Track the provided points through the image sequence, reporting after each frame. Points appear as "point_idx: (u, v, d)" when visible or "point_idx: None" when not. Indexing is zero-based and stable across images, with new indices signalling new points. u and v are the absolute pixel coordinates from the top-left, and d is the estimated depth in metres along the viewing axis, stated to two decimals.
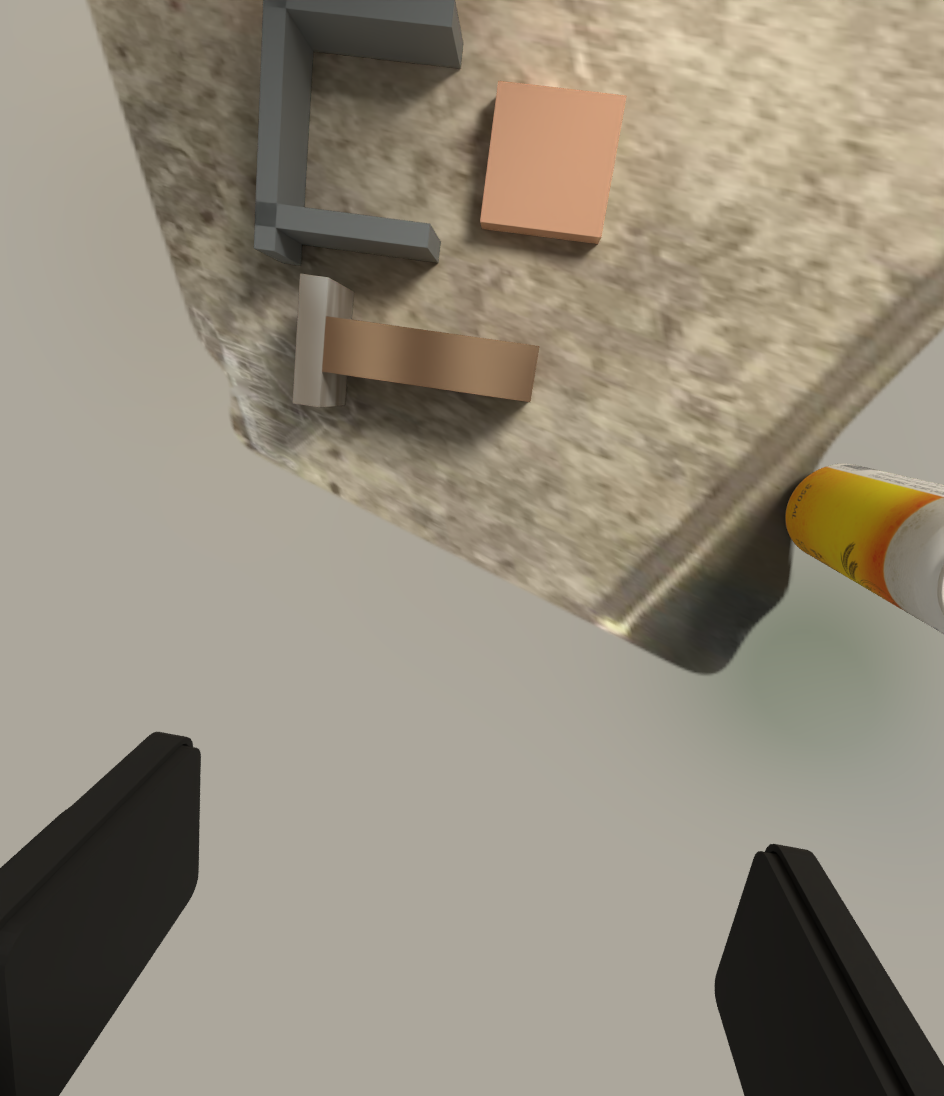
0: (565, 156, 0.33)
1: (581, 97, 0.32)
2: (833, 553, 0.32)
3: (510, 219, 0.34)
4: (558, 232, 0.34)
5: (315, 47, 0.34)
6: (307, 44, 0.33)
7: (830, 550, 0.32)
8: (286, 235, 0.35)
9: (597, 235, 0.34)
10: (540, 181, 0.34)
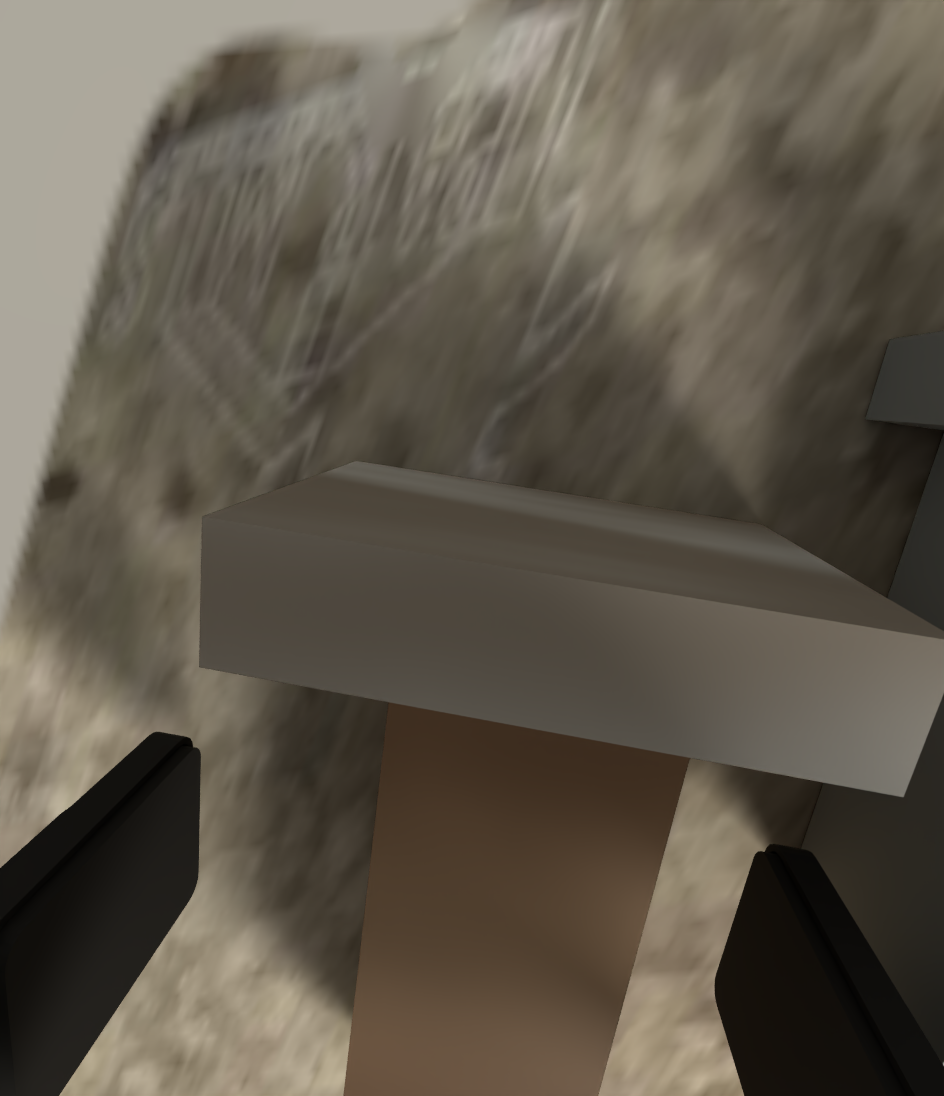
0: None
1: None
2: None
3: None
4: None
5: None
6: None
7: None
8: None
9: None
10: None
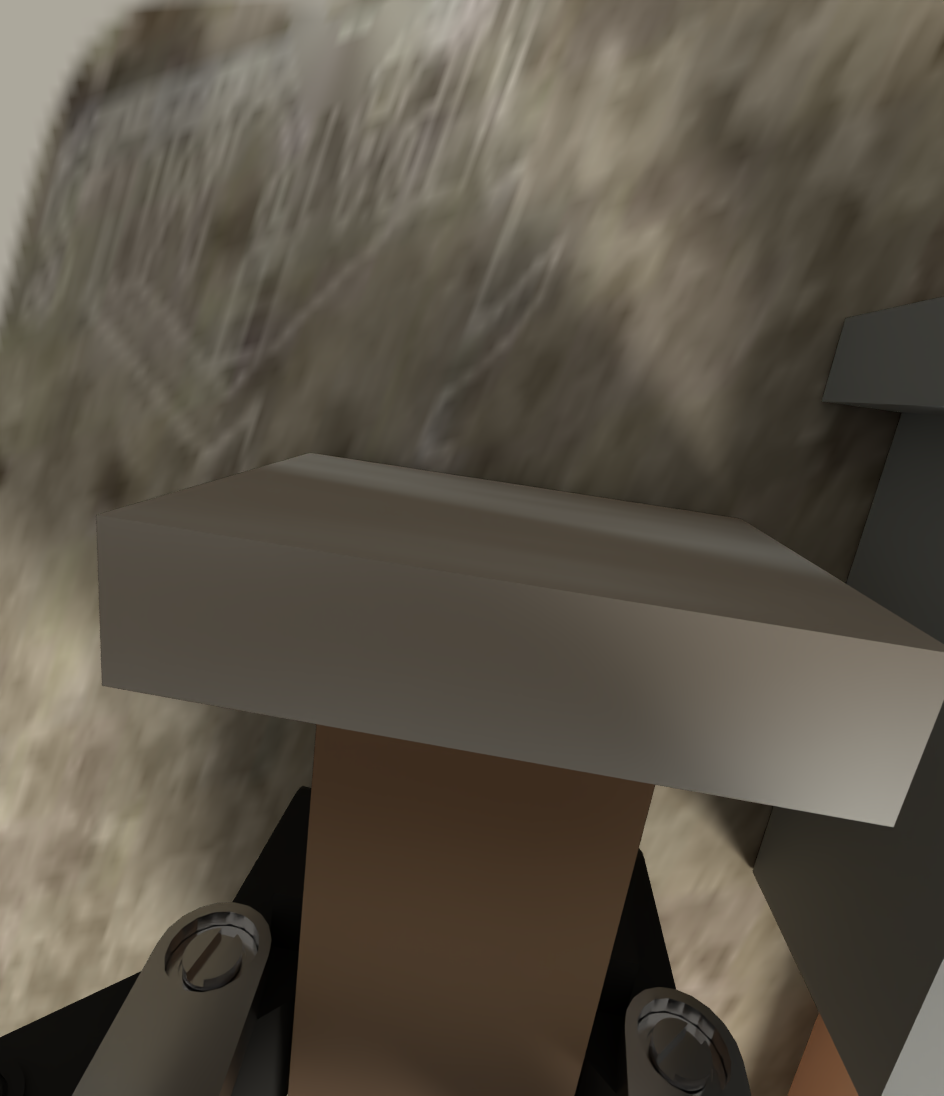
0: None
1: None
2: None
3: None
4: None
5: None
6: None
7: None
8: None
9: None
10: None
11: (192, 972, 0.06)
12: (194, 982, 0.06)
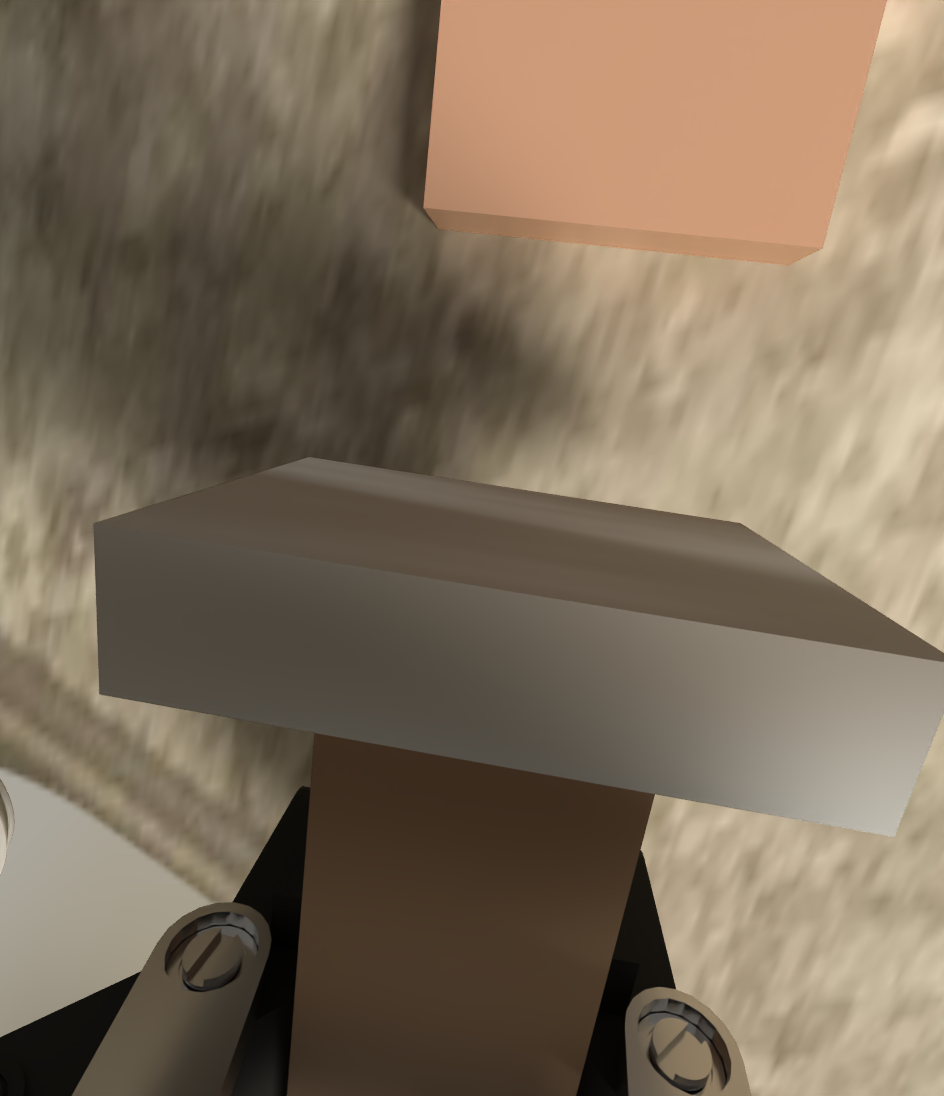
0: (667, 45, 0.10)
1: (845, 85, 0.10)
2: None
3: None
4: (438, 51, 0.10)
5: None
6: None
7: None
8: None
9: (428, 193, 0.11)
10: None
11: (192, 972, 0.06)
12: (194, 982, 0.06)
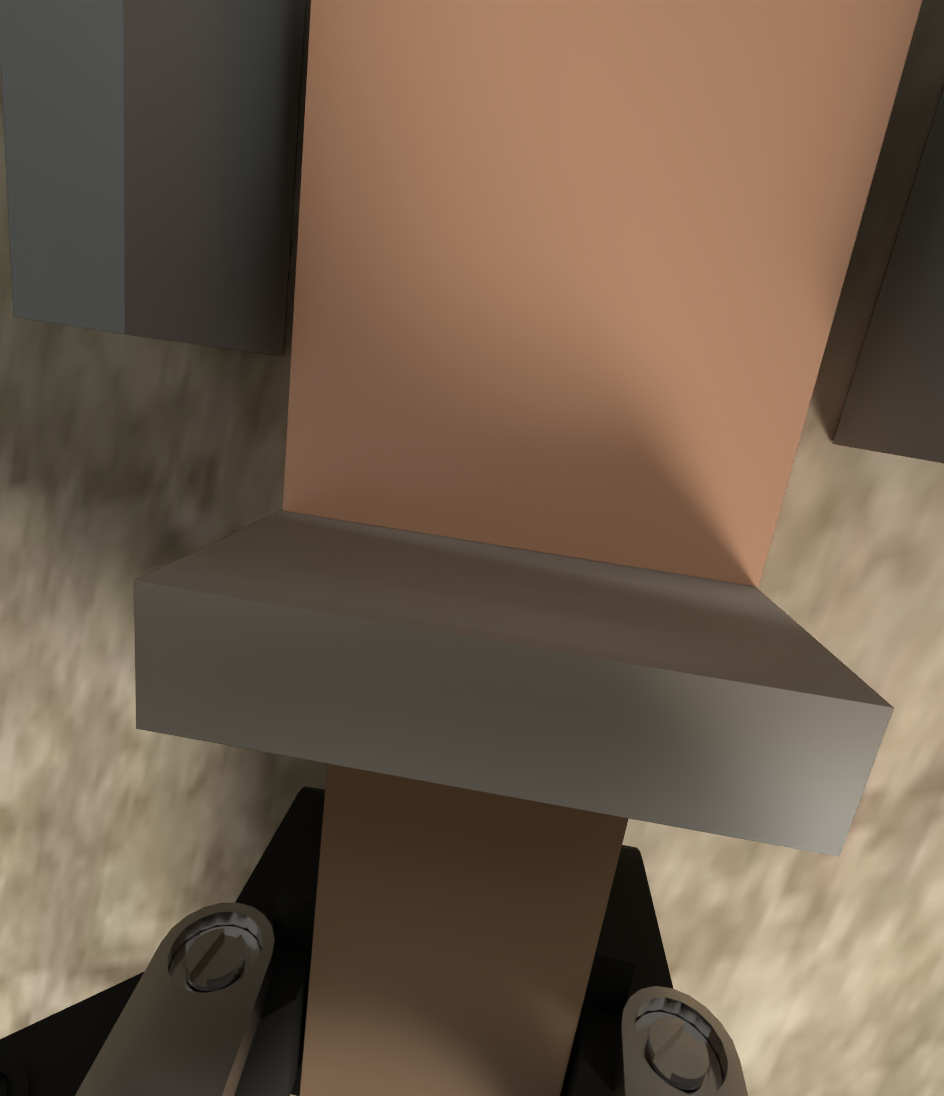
0: (568, 355, 0.08)
1: (783, 415, 0.08)
2: None
3: (329, 107, 0.07)
4: (294, 340, 0.08)
5: None
6: None
7: None
8: None
9: (287, 496, 0.09)
10: (479, 247, 0.08)
11: (195, 973, 0.06)
12: (197, 983, 0.06)
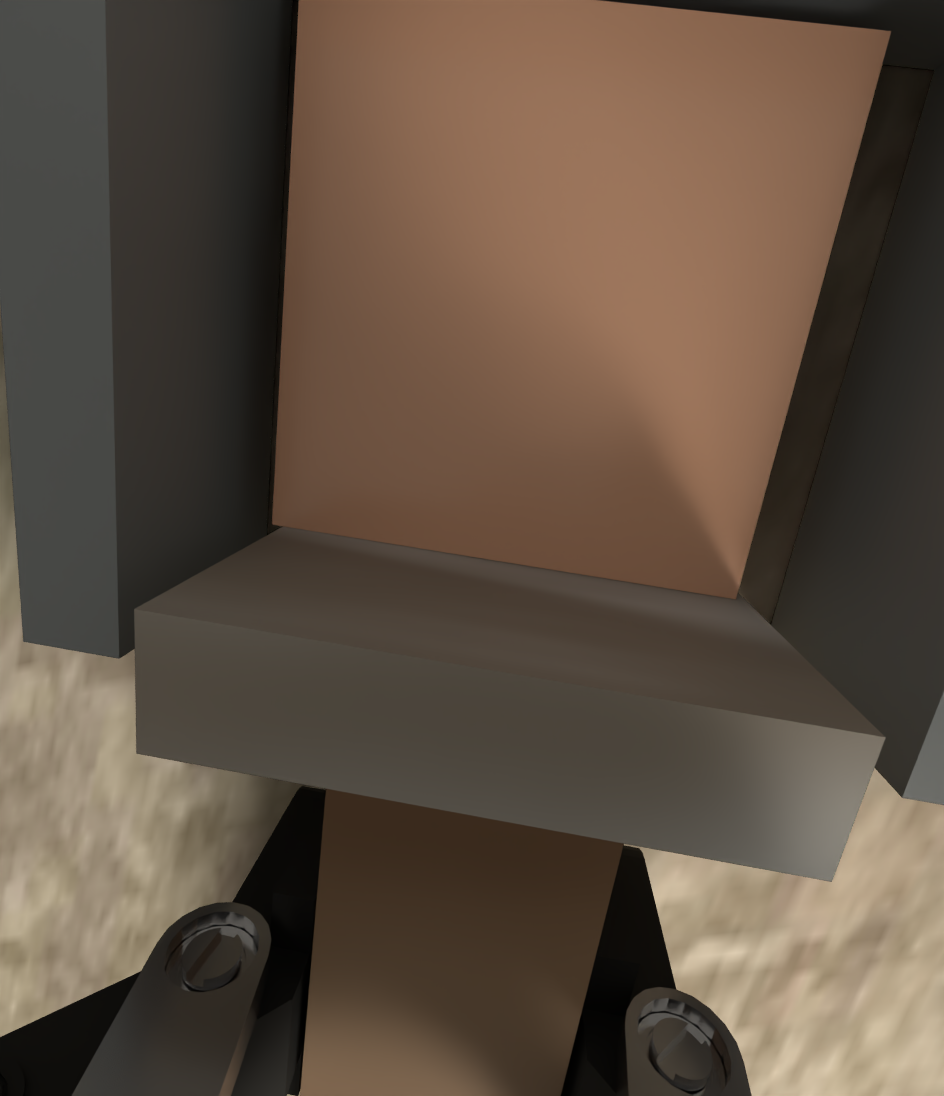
0: (550, 375, 0.08)
1: (758, 433, 0.08)
2: None
3: (316, 133, 0.08)
4: (282, 358, 0.09)
5: None
6: None
7: None
8: None
9: (277, 510, 0.09)
10: (462, 269, 0.08)
11: (191, 972, 0.06)
12: (193, 982, 0.06)
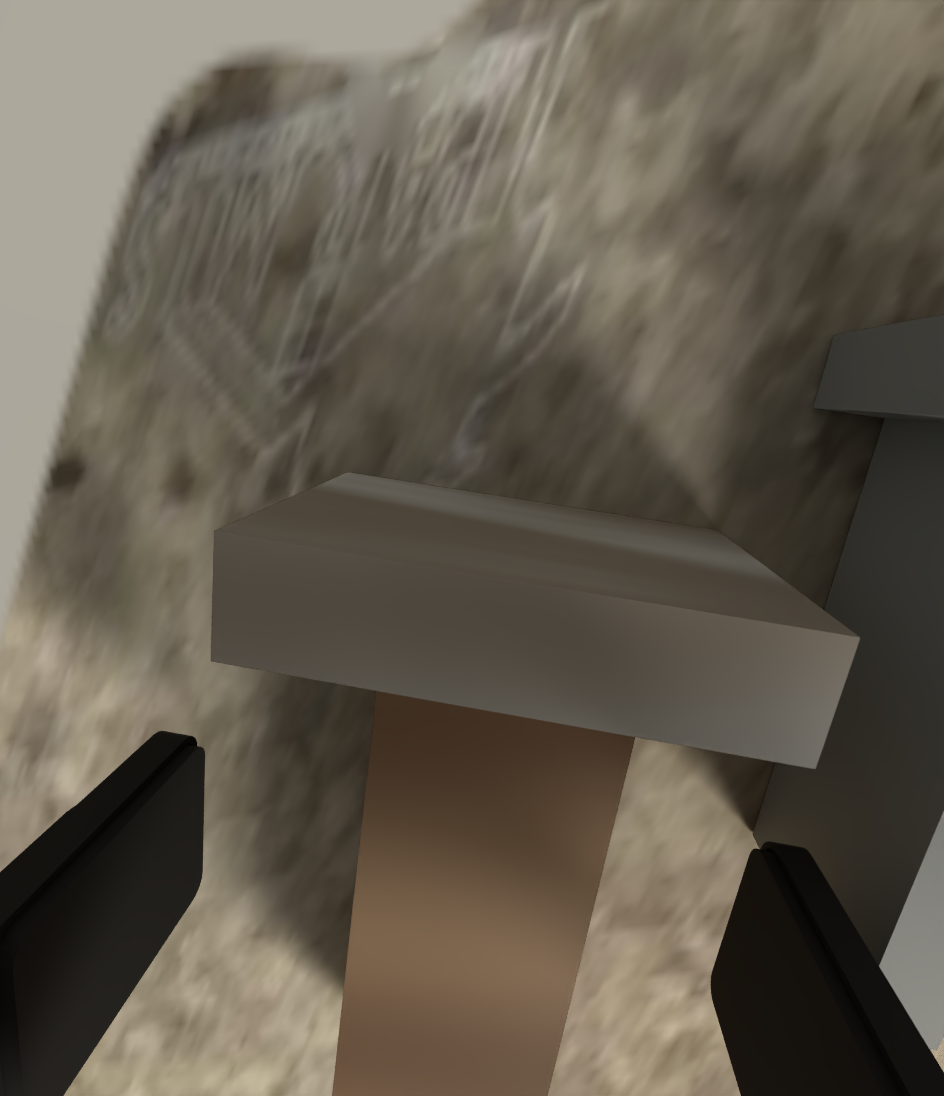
0: None
1: None
2: None
3: None
4: None
5: None
6: None
7: None
8: None
9: None
10: None
11: None
12: None
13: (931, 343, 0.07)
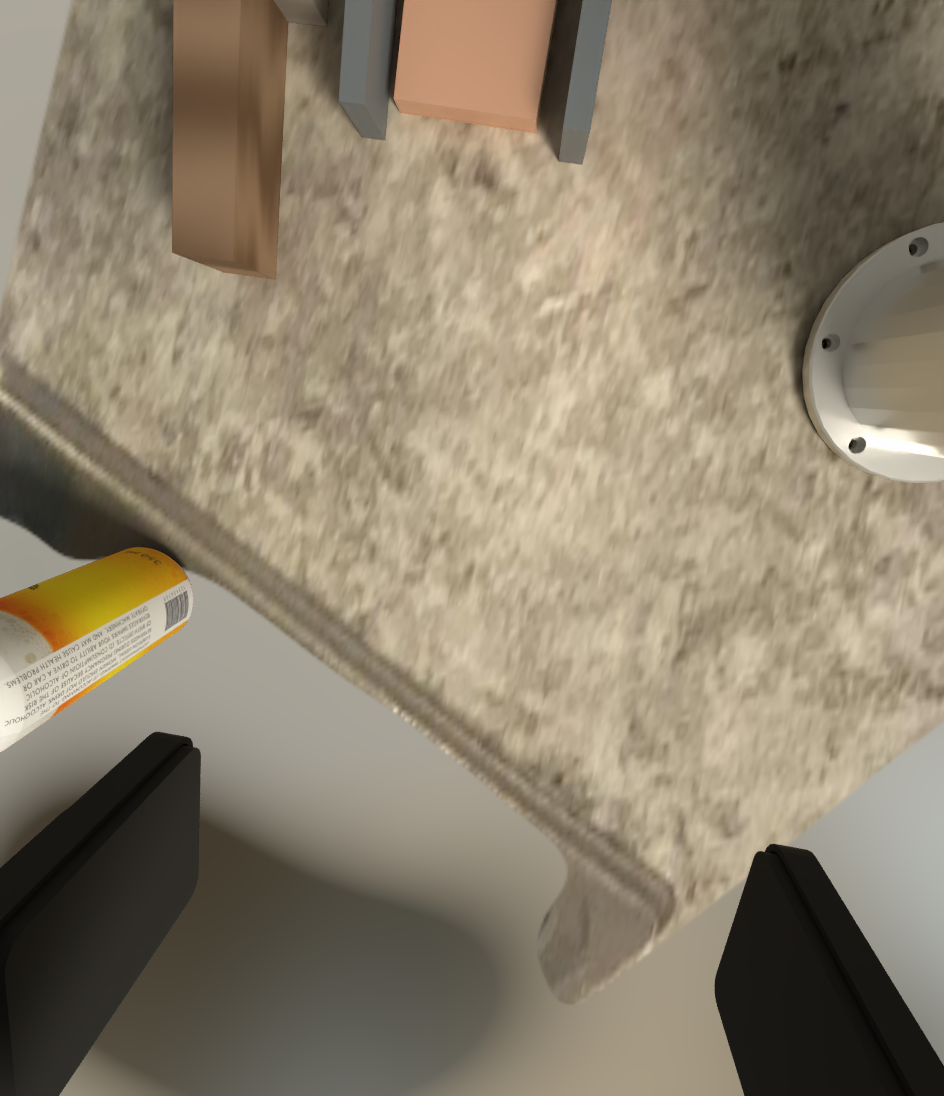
0: (480, 43, 0.28)
1: (539, 61, 0.28)
2: None
3: None
4: (400, 40, 0.28)
5: None
6: None
7: (55, 577, 0.32)
8: None
9: (395, 93, 0.29)
10: (455, 9, 0.28)
11: None
12: None
13: None
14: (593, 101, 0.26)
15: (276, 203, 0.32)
